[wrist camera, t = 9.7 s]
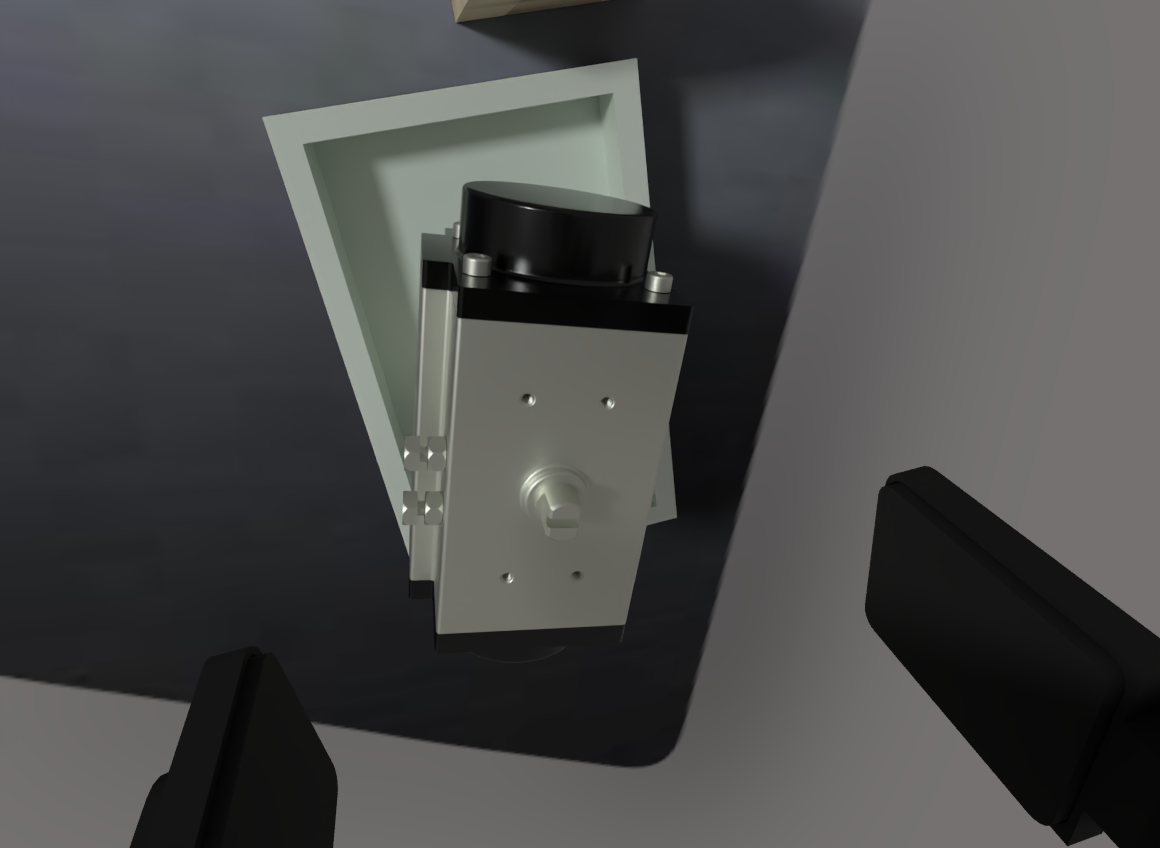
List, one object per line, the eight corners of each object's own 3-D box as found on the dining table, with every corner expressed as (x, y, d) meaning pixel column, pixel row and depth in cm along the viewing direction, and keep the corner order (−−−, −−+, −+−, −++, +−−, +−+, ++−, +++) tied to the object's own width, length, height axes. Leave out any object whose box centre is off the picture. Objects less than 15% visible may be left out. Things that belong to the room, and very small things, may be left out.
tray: (279, 114, 20) (262, 117, 18) (614, 62, 21) (637, 57, 19) (418, 545, 28) (418, 583, 26) (657, 485, 29) (676, 517, 27)
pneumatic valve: (583, 174, 22) (737, 244, 12) (543, 477, 27) (625, 719, 16) (413, 151, 21) (413, 207, 10) (403, 475, 25) (394, 740, 15)
